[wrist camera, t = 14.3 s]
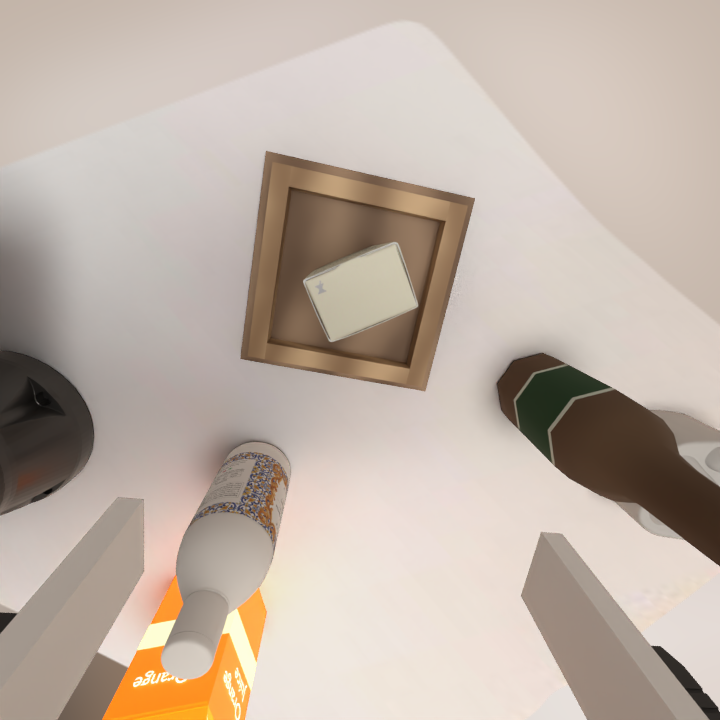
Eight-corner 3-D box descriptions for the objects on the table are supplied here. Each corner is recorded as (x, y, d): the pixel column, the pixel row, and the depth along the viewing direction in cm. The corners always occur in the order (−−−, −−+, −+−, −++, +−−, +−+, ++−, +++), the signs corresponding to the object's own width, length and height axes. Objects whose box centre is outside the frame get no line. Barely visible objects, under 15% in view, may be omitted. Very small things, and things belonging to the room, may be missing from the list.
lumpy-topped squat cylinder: (612, 405, 41) (680, 445, 33) (726, 416, 42) (820, 457, 34) (585, 491, 44) (642, 548, 36) (693, 499, 45) (773, 557, 37)
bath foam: (290, 499, 42) (248, 707, 23) (225, 496, 42) (127, 706, 23) (292, 441, 41) (248, 614, 21) (224, 437, 40) (116, 612, 21)
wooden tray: (242, 356, 38) (234, 364, 35) (268, 153, 33) (261, 144, 30) (423, 387, 40) (429, 398, 37) (471, 199, 35) (483, 195, 32)
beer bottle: (578, 356, 39) (911, 507, 16) (557, 426, 42) (827, 649, 18) (503, 346, 39) (741, 490, 16) (486, 418, 41) (674, 639, 18)
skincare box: (330, 315, 36) (324, 347, 24) (311, 270, 35) (296, 281, 23) (395, 288, 36) (422, 308, 24) (378, 242, 35) (397, 239, 23)
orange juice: (174, 575, 45) (46, 824, 25) (250, 560, 44) (181, 798, 25) (194, 627, 47) (92, 892, 27) (267, 613, 47) (216, 870, 27)
